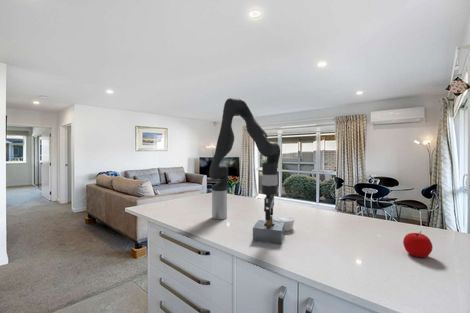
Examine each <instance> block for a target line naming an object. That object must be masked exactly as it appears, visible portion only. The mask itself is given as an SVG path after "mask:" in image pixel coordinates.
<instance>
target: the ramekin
mask: <svg viewBox="0 0 470 313" xmlns="http://www.w3.org/2000/svg"><path fill="white" fill-rule="evenodd" d="M273 221H275V222H284V232H288V231H291V230H293V228H294V224H295V223H294V222H295V218H293V217H291V216H288V215H287V216H285V215H278V216H274V217H273Z"/></svg>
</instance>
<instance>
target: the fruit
mask: <svg viewBox="0 0 470 313" xmlns="http://www.w3.org/2000/svg"><path fill="white" fill-rule="evenodd" d="M402 244H403V247H404V249H405V251H406V252H407V253H408V254H409V255H410V256H413V257H416V258H427V257H428V256H429V255H430V254H431V253H432V251H433V244H432V241H431V239H430V238H429V237H428V236H427V235H425V234H423V233H422V230H420V231H419V232H410V233H407V234H406V235H405V236H404V237H403V241H402Z"/></svg>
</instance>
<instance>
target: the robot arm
mask: <svg viewBox="0 0 470 313" xmlns="http://www.w3.org/2000/svg"><path fill="white" fill-rule="evenodd" d="M234 117H241V119H243V120H244V122H245V127H246V131H247V133H248V135H249V137H250V138H251V139H252V140H253V142H254V143H255V146H256V147H257V150H258V152H259V153H260V155H262V156H263V157H265V158H266V161H264V162H263V163H262V170H261V172H262V174H261V194H263V195H266V196H265V198H264V199H263V200H264V203H263V204H264V205H263V208H264V209H263V211H264V212H265V220H264V221H266V220H270V216H273V215H274V205H275V195H278V192H279V191H278V185H279V184H278V181H279V180H278V179H279V178H278V164H279V161H280V155H281V147H280V145H279V143H278V142H276V141H269V140H268V133H266V131H265V129H264V128H262V126H261V125H260V123H259V122H258V121H257V119H256V118H255V116H254V114H253V113H252V111H251V109H250V107H249V106H248V104H247V103H246V101H245V100H244V99H243V98H233V97H232V98H231V97H230V98H227V99H226V100H225V103H224V105H223V111H222V117H221V119H222V120H221V124H220V130H219V134H218V137H217V142H216V146H215V150H214V154H213V158H212V160H211V163H210V166H209V170H208V171H209V172H208V173H209V174H208V175H209V178H210V179H211V180H219V181H217V182H216V183H215V184H212V186H211V210H212V211H211V218H212V219H214V220H224V219H225V220H226V219H227V218H228V182H229V180H228V179H229V168H228V165H227V164H225V163H223V164H222V163H221V162H222V161H223V159H224V158H225V157H226V156H228V154H230V152H231V151H232V149H233V147H234V142H235V135H234V134H235V133H234V131H233V127H232V123H233V119H234Z"/></svg>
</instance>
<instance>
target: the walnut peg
mask: <svg viewBox="0 0 470 313" xmlns="http://www.w3.org/2000/svg"><path fill="white" fill-rule="evenodd" d="M273 218H274V217H273V215H270V220H265V221H266V226H270V227H272V226H273Z"/></svg>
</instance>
